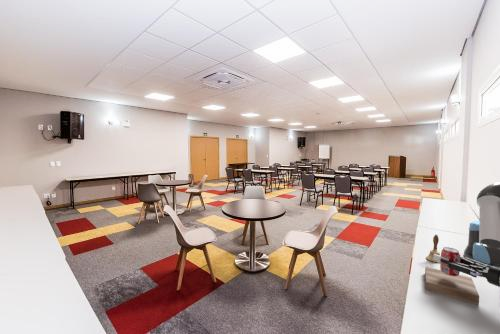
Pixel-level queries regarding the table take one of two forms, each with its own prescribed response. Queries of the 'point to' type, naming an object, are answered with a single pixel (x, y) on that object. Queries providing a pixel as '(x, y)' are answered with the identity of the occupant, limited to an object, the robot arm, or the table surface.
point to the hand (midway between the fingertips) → (438, 255)
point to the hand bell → (434, 250)
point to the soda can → (454, 256)
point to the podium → (451, 285)
